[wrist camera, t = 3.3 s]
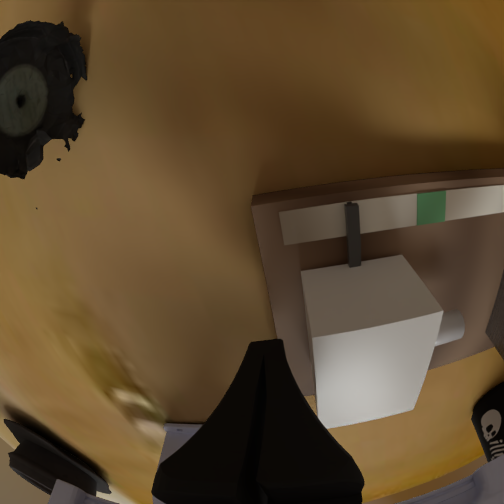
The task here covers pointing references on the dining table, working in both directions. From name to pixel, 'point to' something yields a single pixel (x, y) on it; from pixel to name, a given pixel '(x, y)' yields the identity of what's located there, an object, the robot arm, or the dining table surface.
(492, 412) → the beverage can
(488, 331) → the grey block
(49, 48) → the artificial flower
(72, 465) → the casserole
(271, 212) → the base
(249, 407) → the robot arm
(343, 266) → the gauge carriage
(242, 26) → the dining table surface
